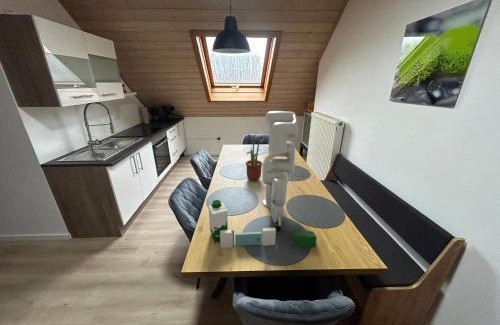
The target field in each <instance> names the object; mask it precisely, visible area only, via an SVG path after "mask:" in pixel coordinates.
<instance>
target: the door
mask: <svg viewBox="0 0 500 325" xmlns="http://www.w3.org/2000/svg"><path fill="white" fill-rule="evenodd" d="M262 232H263V231H251V232H250V231H248V232H234V247H239V246H240V247H241V246H245V247H246V246H257V245H258V246H260V245H262Z"/></svg>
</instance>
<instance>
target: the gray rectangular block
mask: <svg viewBox="0 0 500 325" xmlns="http://www.w3.org/2000/svg"><path fill="white" fill-rule="evenodd" d="M269 222H270V223H269V228H274V227H275V223H274V222H273V219H272V216H271V215H270V221H269ZM277 224H278V222H277ZM283 228H284V221H283V222H281V228H280V233H283V230H284V229H283Z"/></svg>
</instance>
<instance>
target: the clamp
mask: <svg viewBox="0 0 500 325" xmlns="http://www.w3.org/2000/svg"><path fill="white" fill-rule="evenodd" d="M291 232H292V234H291V235H292V244H293V247H295V248H297V247H298V248H299V247H300V248H315V247H316V246H317V238H318V236H317V235H316V233H315V232H314V231H313V230H307V231H306V232H305V233H302V232H300V230H292V231H291Z"/></svg>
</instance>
